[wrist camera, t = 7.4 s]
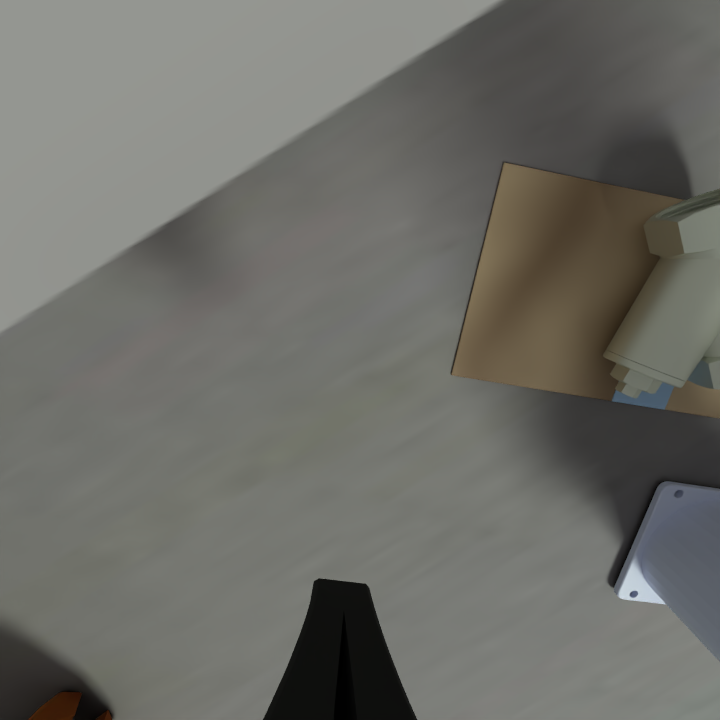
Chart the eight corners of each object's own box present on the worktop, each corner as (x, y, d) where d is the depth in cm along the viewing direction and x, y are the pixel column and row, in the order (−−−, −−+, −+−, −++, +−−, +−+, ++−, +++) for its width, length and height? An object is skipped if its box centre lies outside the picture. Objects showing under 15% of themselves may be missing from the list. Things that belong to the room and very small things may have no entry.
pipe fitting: (600, 395, 20) (733, 345, 19) (652, 429, 16) (823, 369, 15) (556, 255, 18) (703, 189, 17) (604, 256, 14) (798, 172, 13)
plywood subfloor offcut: (893, 245, 18) (900, 244, 18) (798, 430, 20) (803, 432, 20) (502, 163, 16) (504, 162, 16) (450, 373, 19) (451, 375, 19)
